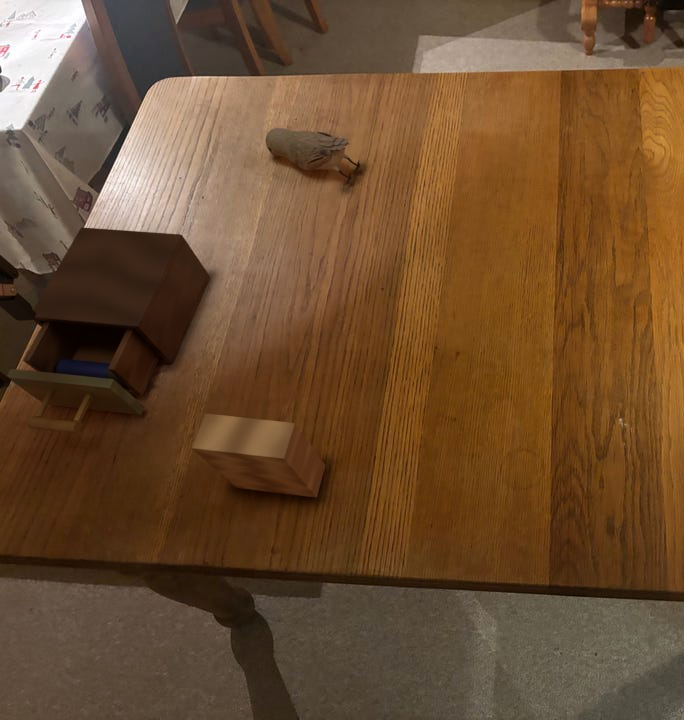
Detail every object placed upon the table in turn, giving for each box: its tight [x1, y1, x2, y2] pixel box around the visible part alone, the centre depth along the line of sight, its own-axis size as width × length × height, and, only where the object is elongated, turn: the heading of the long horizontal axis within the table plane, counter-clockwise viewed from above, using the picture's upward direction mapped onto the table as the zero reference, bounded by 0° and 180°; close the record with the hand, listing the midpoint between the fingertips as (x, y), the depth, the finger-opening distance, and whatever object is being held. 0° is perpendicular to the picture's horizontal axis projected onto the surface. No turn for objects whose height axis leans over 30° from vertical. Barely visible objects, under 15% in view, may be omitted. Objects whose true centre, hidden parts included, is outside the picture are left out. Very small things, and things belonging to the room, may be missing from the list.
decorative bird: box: [265, 127, 362, 185], centre depth 101 cm, size 5×16×8 cm, turn 66°
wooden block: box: [191, 413, 326, 498], centre depth 73 cm, size 10×4×12 cm, turn 82°
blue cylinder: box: [56, 359, 126, 386], centre depth 84 cm, size 9×3×3 cm, turn 82°
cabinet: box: [33, 227, 211, 365], centre depth 88 cm, size 15×15×9 cm
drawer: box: [6, 321, 160, 434], centre depth 83 cm, size 18×13×7 cm
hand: (15, 350), depth 71 cm, fingers open, 8 cm apart
